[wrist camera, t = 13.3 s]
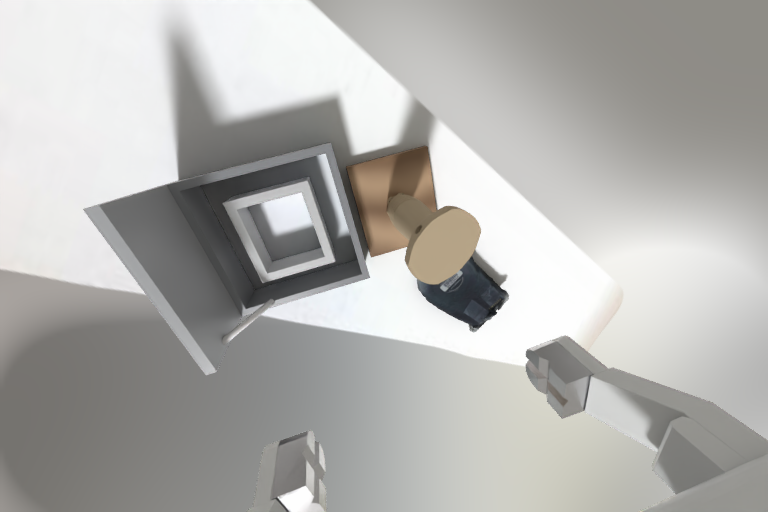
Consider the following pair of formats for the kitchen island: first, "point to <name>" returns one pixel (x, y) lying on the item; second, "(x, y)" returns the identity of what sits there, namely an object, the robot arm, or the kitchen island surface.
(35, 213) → the kitchen island surface
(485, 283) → the electronic device
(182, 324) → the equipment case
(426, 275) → the handle
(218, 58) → the kitchen island surface
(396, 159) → the walnut pad
